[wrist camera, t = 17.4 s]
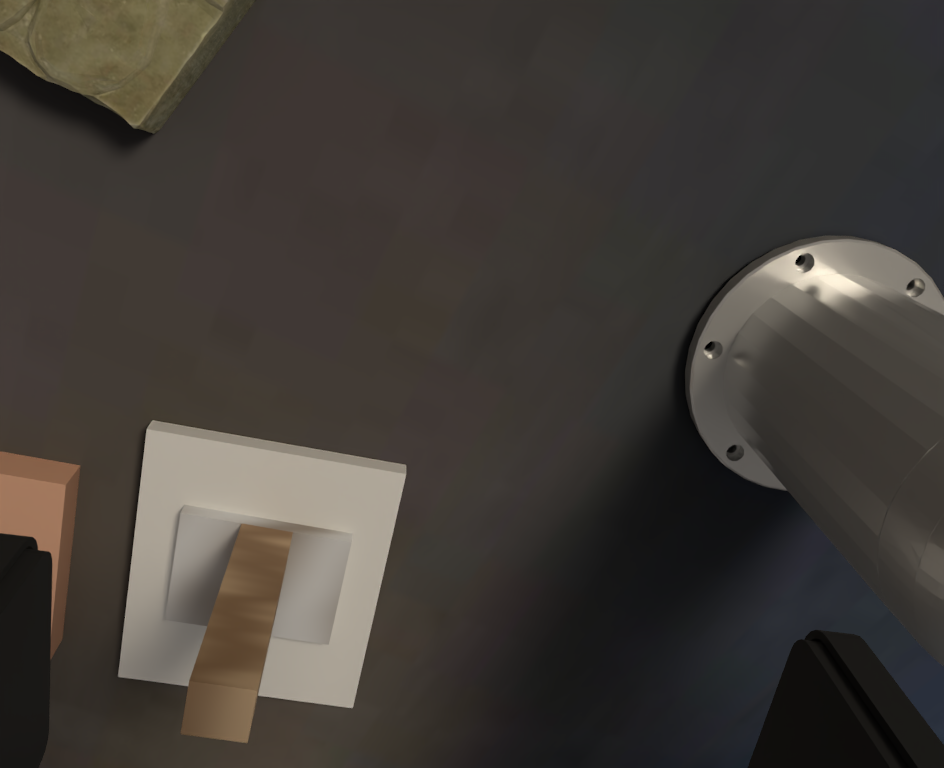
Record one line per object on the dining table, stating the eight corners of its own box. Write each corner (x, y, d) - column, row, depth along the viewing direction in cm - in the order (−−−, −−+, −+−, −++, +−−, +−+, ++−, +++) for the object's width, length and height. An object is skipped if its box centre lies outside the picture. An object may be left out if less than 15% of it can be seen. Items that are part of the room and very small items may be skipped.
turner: (352, 533, 43) (335, 701, 32) (329, 634, 45) (306, 825, 34) (184, 504, 42) (107, 669, 31) (168, 609, 44) (91, 799, 33)
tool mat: (406, 464, 43) (406, 474, 42) (353, 695, 48) (352, 708, 47) (152, 420, 41) (146, 428, 40) (123, 663, 46) (118, 676, 45)
